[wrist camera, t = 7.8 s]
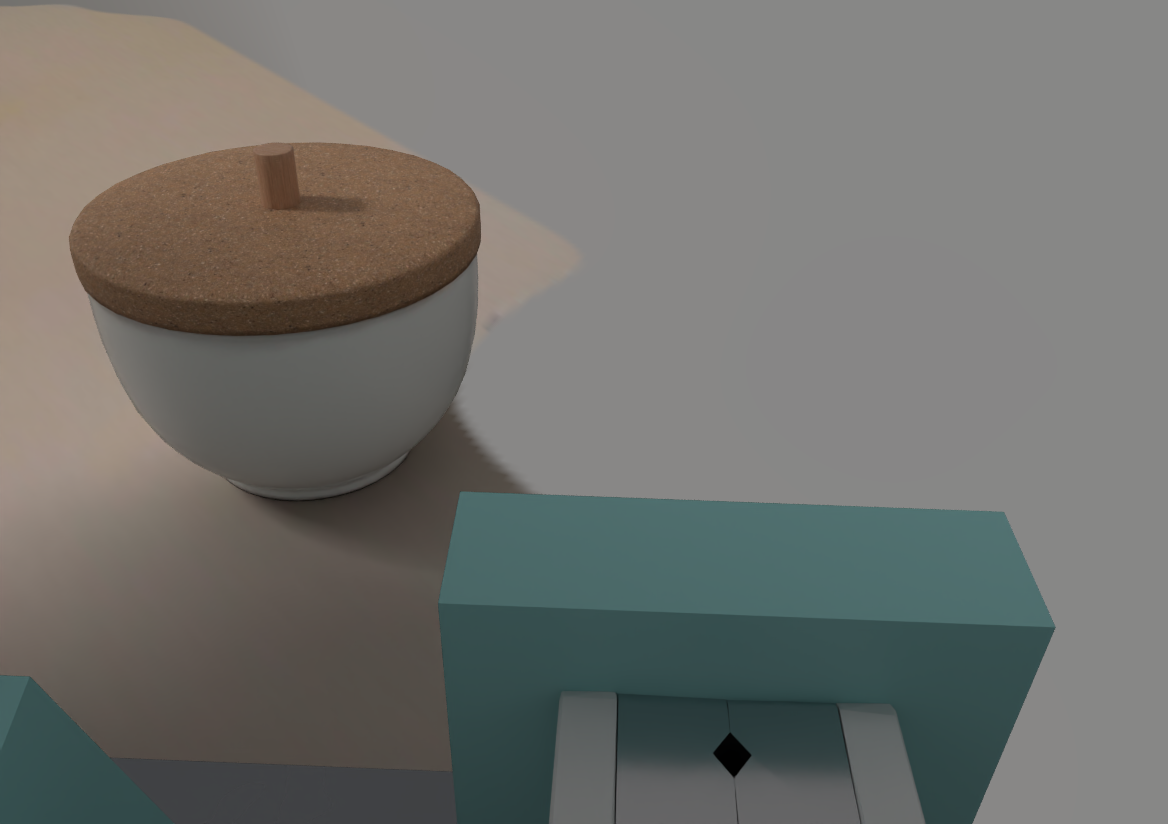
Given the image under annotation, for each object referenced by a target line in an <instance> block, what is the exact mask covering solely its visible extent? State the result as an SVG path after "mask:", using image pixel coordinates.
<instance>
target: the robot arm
mask: <svg viewBox="0 0 1168 824" xmlns="http://www.w3.org/2000/svg"><path fill="white" fill-rule="evenodd" d="M616 723H617V739H616ZM549 824H926V823H925V819H924V816H923V812H922V808H921V804H920V800H919V797H918V793H917V789H916V785H915V781H914V778H913V774H912V770H911V766H910V763H909V759H908V755H907V751H906V747H905V744H904V740H903V736H902V732H901V728H900V725H899V721H898V717H897V713H896V711H895V709H894V708H893V707H892V705H891V704H883V703H836V705H835V704H834V703H817V702H793V701H753V700H726V699H711V698H692V697H674V696H655V695H637V694H618V702H617V695H616V693H615V692H602V691H562V692H561V695H560V699H559V710H558V721H557V733H556V745H555V757H554V769H553V781H552V792H551V804H550V816H549Z"/></svg>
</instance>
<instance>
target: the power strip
mask: <svg viewBox="0 0 1168 824" xmlns="http://www.w3.org/2000/svg"><path fill="white" fill-rule="evenodd" d="M110 759H111V760H112V761H113V762H114V763H115V764H116V765H117V766H118V767H119V768H120V769H121V770H122V771H123V772H124V773H125V774H126V775H127V776H128V777H129V778H130V779H131V780H132V781H133V782H134V783H135V784H136V785H137V786H138V787H139V788H140V789H141V790H142V791H143V792H144V793H145V794H146V795H147V796H148V797H149V798H150V799H151V800H152V801H153V802H154V803H155V804H156V805H157V806H158V808H159V809H160V810H161V811H162V812H163V813H164V814H165V815H166V816H167V817H168V818H169V819H170V820H171V821H172V822H173V823H174V824H457V816H456V805H455V793H454V782H453V772H447V771H423V770H399V769H374V768H350V767H325V766H301V765H276V764H252V763H228V762H203V761H179V760H154V759H130V758H110Z"/></svg>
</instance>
